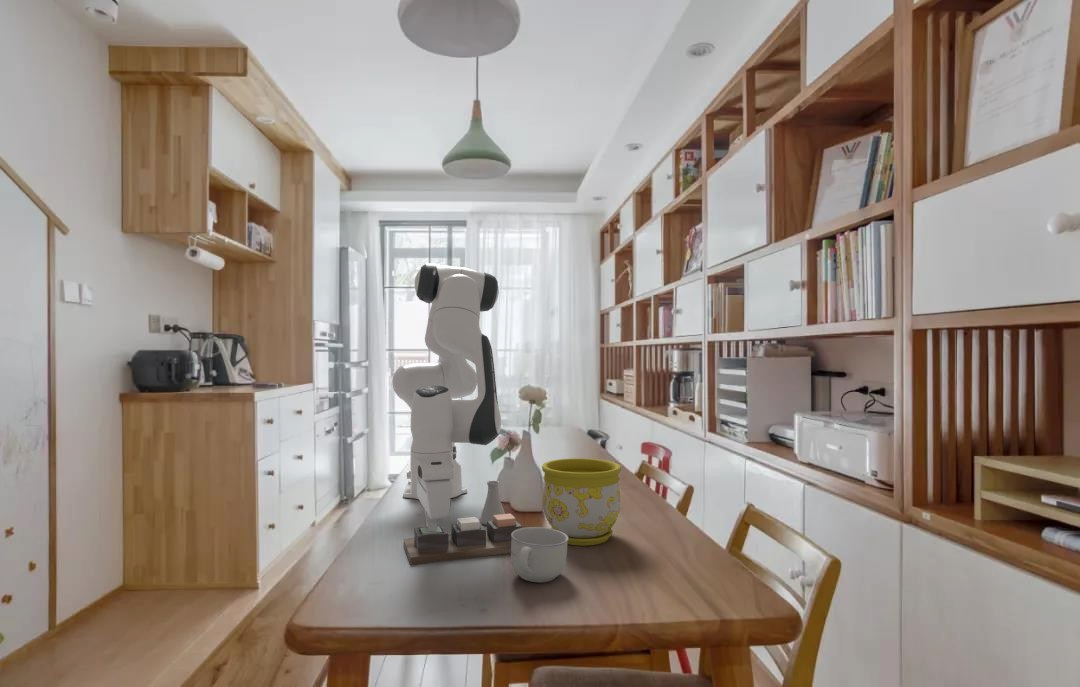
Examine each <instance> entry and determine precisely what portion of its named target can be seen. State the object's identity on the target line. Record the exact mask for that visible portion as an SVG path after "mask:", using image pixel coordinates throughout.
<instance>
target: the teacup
mask: <svg viewBox="0 0 1080 687" xmlns="http://www.w3.org/2000/svg"><path fill="white" fill-rule="evenodd" d="M511 538H512V541H511V553H510V563H511V567H512V569H513V571H514V572H515V573H516V574H518V576H519V577H520V578H521V579H523V580H525V581H528V582H532V583H548V582H551V581H553V580H555V579H556V577H558V576H560V575H561V574H562V573H563V572H564V570H565V567H566V562H567V555H568V544H567V542H568V536H567V535H566V534H565V533H563V532H561V531H558V530H554V529H551V527H543V526H541V527H540V526H528V527H522V528H520V529H517V530H515V531H513V532H512V534H511Z"/></svg>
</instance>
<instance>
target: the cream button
mask: <svg viewBox="0 0 1080 687" xmlns="http://www.w3.org/2000/svg"><path fill="white" fill-rule="evenodd" d="M456 524H457V528H458V529H459V530H460V531H468V530H478V529H480V522H479V519H478V518H477V517H476V516H470V517H461V518H457V523H456Z"/></svg>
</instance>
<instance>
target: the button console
mask: <svg viewBox="0 0 1080 687" xmlns="http://www.w3.org/2000/svg"><path fill="white" fill-rule="evenodd" d="M438 526H439V527H440V528H441V530H442V533H438V534H429V535H421V533H420V528H425V527H426V526H422V527H421V526H420V527H414V531H413V532H414V536H413V537H410V538H404V539H403V548H404V551H405V553H406V556H407V559H408V562H409V564H410V566H411V565H413V566H414V565H421V564H429V563H439V562H446V561H447V562H448V561H455V560H456V561H457V560H462V559H463V560H464V559H471V558H481V557H488V556H499V555H506V554H511V541H512V538H511V534H512V532H513V531H515V530H517V529H520V528H523V526H522V525H521V524H520V522H518V521H517V520H516V526H507V527H496V526H495V525H494V524H493V520H492V521H487V525H486V528H485V527H484V526H483V524H481V523H480V529H478V530H468V531H460V530H459V529H458V528H457V523H452V524H451V527H450V528H451V529H450V530H451V531H450V532H451V533H449V532H448V530H447V529H446V526H444V524H443V525H438Z"/></svg>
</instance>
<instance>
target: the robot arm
mask: <svg viewBox="0 0 1080 687" xmlns="http://www.w3.org/2000/svg"><path fill="white" fill-rule="evenodd" d="M416 273H417V274H416V275H415V279H414V290H415V295H416V296H417V299H418V300H420V301H421V302H425V303H427V304H429V305H430V304H431V306H430V310H429V314H428V318H427V325H426V328H425V329H426V330H425V333H424V334H425V336H424V342H425V345H426V347H427V349H428V350H429V351H430V352H432V353H433V354H435V355H437V356H438V360H437V361H436V362H414V363H407V364H403V365H401V366H399V367H398V368H397V369H396V370H395V371H394V374H393V376H392V388H393V392H394V393H395V395H396V396H397V397H398V398H399V399H401V400H402V401H403V402H404V403H406V405H408V407H409V409H410V410H411V412H410V433H411V437H412V439H411V440H412V442H411V446H410V459H409V460H410V465H409V466H410V470H408V471H406V480H408V481H407V483H406V485H405V487H404V491H403V493H402V497H403V498H406V499H408V498H409V499H415V500H419V502H420V504H421V505H422V507H423V509H424V513H425V514H424V515H425V519H426V520H425V521H426V523H425V525H426V526H425V527H427V528H428V530H429V531H430V532H431V531H436V530H437V526H438V520H443V519H444V520H445V519H447V518H448V517H449V515H450V508H451V499H452V498H456V497H459V496H460V495H463V494H466V493H468V488H466V487H464V486H463V479H462V478H463V477H462V465H461V464H460V463H459V462H458V461H457V460H456V459H457V446H456V443H458V444H459V443H460V444H461V443H462V444H471V445H472V444H473V445H481V446H487V445H489V444H490V443H492V442H493V441H495V440H496V438H498V437H499V435H500V434H501V430H502V416H501V412H500V408H499V403H498V395H497V394H498V392H497V383H496V372H495V371H496V370H495V362H494V354H493V349H492V344H491V342H490V339H489V337H488V336H487V335H485V334H483V333H482V331H481V328H480V318H481V313H482V312H488V311H490V310H492V309H493V308H494V306H495V304H496V302H497V301H498V298H499V293H500V292H499V290H500V289H499V282H498V280H497V278H496V276H494V275H493V274H491V273H489V272H485V271H484V272H481V271H478V270H476V269H471V268H467V267H464V266H461V267H458V266H451V265H444V264H443V265H442V264H441V265H440V264H437V263H425V264H424V265H422V266H420V269H419V270H418V272H416ZM468 361H469V362H470V363H471V362H472V364H474V365H475V369H474V367H473V366H472V365H471V364H470V363H469V362H468ZM476 388H477V397H476V398H474V399H462V398H464V397H469V396H471V395H472V394H474V392H475V390H476ZM460 398H461V399H460Z"/></svg>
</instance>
